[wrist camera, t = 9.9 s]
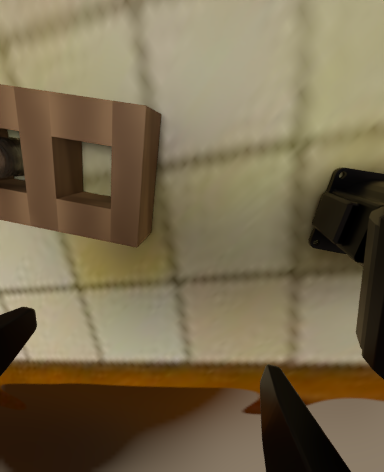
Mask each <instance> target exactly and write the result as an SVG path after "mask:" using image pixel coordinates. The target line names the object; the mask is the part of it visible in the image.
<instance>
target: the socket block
mask: <svg viewBox="0 0 384 472" xmlns="http://www.w3.org/2000/svg"><path fill="white" fill-rule="evenodd" d="M160 123H161V114H160V113H158V112H156V111H154V110H153V109H151V108H149V107H147V106H144V105H138V104H131V103H124V102H117V101H110V100H103V99H97V98H90V97H83V96H76V95H69V94H62V93H56V92H49V91H42V90H35V89H28V88H21V87H15V86H8V85H1V84H0V137H8V132H7V129H10V130H16V131H19V134H20V142H21V150H22V158H23V166H24V175H25V181H23V180H18V179H14V177H7V178H0V220H4V221H9V222H14V223H19V224H24V225H29V226H34V227H39V228H44V229H49V230H54V231H58V232H63V233H68V234H73V235H78V236H83V237H88V238H93V239H98V240H103V241H108V242H113V243H118V244H122V245H127V246H132V247H138V246H139V245H140V244H141V243H142V242H143V241H144V240H145V239H146V238H147V237H148V236H149V234H150V233H151V227H152V215H153V204H154V192H155V181H156V169H157V158H158V146H159V135H160ZM81 141H83V142H89V143H95V144H101V145H107V146H112V168H111V197H110V196H104V195H99V194H93V193H88V192H83V174H82V142H81Z"/></svg>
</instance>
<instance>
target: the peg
mask: <svg viewBox="0 0 384 472" xmlns="http://www.w3.org/2000/svg"><path fill="white" fill-rule="evenodd" d="M16 176H24V166H23V158H22V150H21V142H20V138H12V137H0V178H7V177H16Z"/></svg>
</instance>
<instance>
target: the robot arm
mask: <svg viewBox="0 0 384 472" xmlns="http://www.w3.org/2000/svg"><path fill="white" fill-rule="evenodd" d="M341 172H344V176H343V177H341V178H340V177H339V174H340V173H341ZM312 224H313V226H314V227H313V230H312V233H311V236H310V238H309V244H310V245H311V246H312V247H313V248H316V249H322V250H327V251H332V252H337V253H343V254H347V255H348V256H350V257H351V258H352V259H353V260H354V261H356V262H358V263H359V264H360V265H361V266H363V274H362V283H361V292H360V301H359V310H358V318H357V327H356V334H357V338H358V341H359V344H360V347H361V349H362V356H363V358H364V359H365V360H366V362H367V363H368V364H369V365H370V367H371V368H372V369H373V370H374V371H375V372H376V373H377V374H378V375H379V376H381V377H382V378H383V379H384V174H380V173H374V172H368V171H361V170H355V169H349V168H338V169H337V170H335V172H334V173H333V176H332V179H331V181H330V184H329V187H328V190H327V192H325V193H324V194H323V195H322V197H321V200H320V203H319V206H318V208H317V211H316V214H315V217H314V219H313V222H312ZM315 240H318V242H317V243H316V244H313V242H314V241H315ZM36 327H37V321H36V314H35V310H34V309H32V308H28V307H21V308H18V309H15V310H13V311H10V312H7V313H4V314H2V315H0V376H1V375H2V374H3V373H4V371H5V370H6V369H7V368H8V366H9V365H10V364H11V363H12V361H13V360H14V358H15V357H16V356H17V354H18V353H19V352H20V350H21V349H22V348H23V346H24V345H25V344H26V342H27V341H28V340H29V338H30V337H31V336H32V334H33V333H34V332H35V330H36ZM260 399H261V428H262V442H263V451H264V458H265V466H266V472H351V471H350V470H349V468H348V467H347V465H346V464H345V462H344V461H343V459H342V458H341V456H340V455H339V454H338V452H337V451H336V449H335V448H334V446H333V445H332V443H331V442H330V440H329V439H328V438H327V436H326V435H325V433H324V432H323V430H322V429H321V427H320V426H319V424H318V423H317V422H316V420H315V419H314V417H313V416H312V414H311V413H310V411H309V410H308V408H307V407H306V405H305V404H304V402H303V401H302V399H301V398H300V397H299V395H298V394H297V392H296V391H295V389H294V388H293V386H292V385H291V383H290V382H289V381H288V379H287V378H286V376H285V375H284V373H283V372H282V370H281V369H280V368H279V367H277V366H274V365H269V364H268V365H267V366H266V367H265V370H264V373H263V375H262V378H261V382H260Z"/></svg>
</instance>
